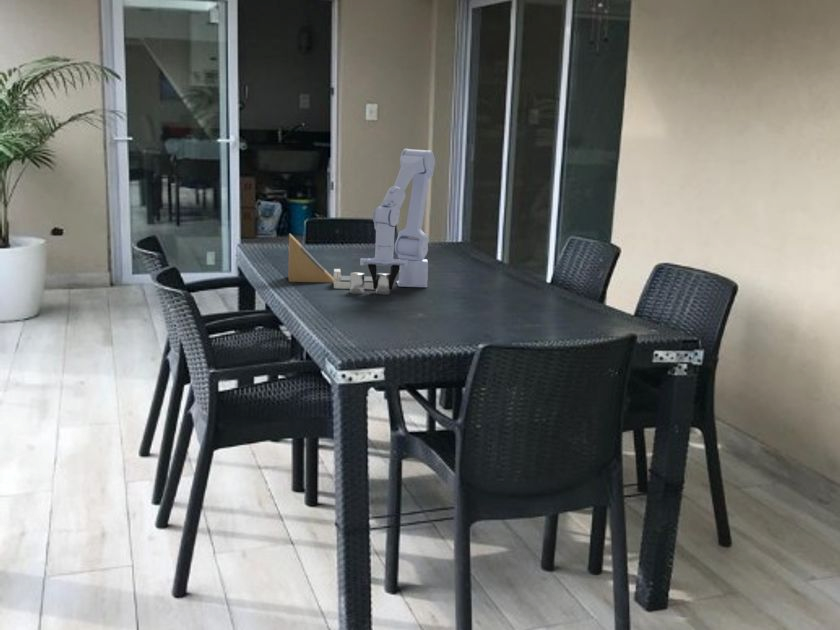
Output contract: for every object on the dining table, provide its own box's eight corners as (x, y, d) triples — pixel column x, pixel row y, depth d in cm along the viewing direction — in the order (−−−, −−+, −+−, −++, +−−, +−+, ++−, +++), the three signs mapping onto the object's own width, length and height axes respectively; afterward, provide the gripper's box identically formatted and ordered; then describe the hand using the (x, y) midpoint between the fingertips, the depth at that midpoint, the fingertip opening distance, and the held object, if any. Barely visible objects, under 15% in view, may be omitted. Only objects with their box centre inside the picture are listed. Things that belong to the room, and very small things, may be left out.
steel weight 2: (388, 291, 276) (389, 273, 274) (390, 294, 272) (391, 275, 270) (375, 291, 275) (375, 272, 274) (376, 294, 271) (376, 275, 270)
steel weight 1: (363, 291, 275) (364, 272, 273) (364, 294, 271) (365, 275, 269) (349, 290, 274) (350, 272, 273) (350, 293, 270) (350, 274, 269)
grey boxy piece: (376, 284, 287) (376, 269, 286) (378, 289, 279) (378, 274, 277) (332, 282, 285) (332, 267, 284) (333, 288, 277) (333, 272, 276)
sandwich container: (336, 283, 286) (337, 237, 283) (288, 282, 284) (289, 236, 280) (334, 278, 295) (335, 233, 291) (288, 277, 292) (289, 232, 289)
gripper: (361, 246, 265) (360, 290, 268) (409, 248, 267) (407, 291, 270) (360, 243, 272) (359, 286, 275) (406, 244, 274) (404, 287, 277)
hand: (382, 288), depth 273 cm, fingers closed on steel weight 2, 4 cm apart
